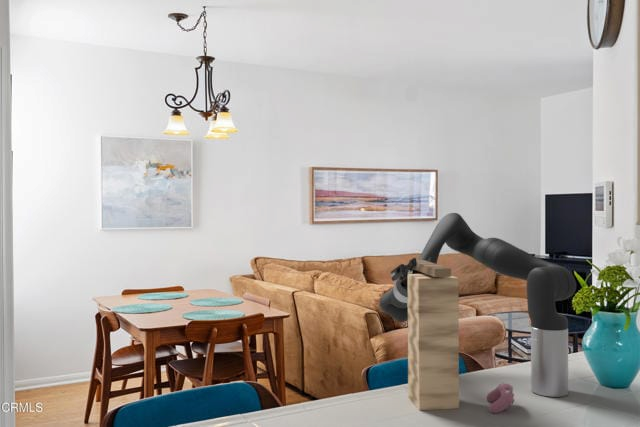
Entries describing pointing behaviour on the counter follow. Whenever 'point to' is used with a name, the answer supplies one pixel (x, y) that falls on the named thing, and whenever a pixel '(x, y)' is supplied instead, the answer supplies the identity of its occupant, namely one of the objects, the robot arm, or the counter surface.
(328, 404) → the counter surface
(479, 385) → the counter surface
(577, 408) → the counter surface
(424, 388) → the wooden block tower
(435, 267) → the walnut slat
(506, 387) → the pink curved piece
